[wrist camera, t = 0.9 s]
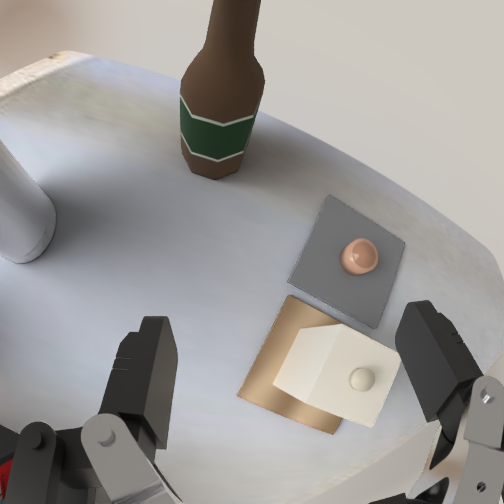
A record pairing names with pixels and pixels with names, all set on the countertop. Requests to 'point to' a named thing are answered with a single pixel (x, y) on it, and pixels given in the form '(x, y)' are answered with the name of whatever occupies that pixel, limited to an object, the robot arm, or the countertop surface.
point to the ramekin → (359, 257)
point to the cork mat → (272, 358)
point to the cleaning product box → (6, 456)
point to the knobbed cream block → (339, 372)
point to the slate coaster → (331, 272)
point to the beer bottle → (222, 91)
